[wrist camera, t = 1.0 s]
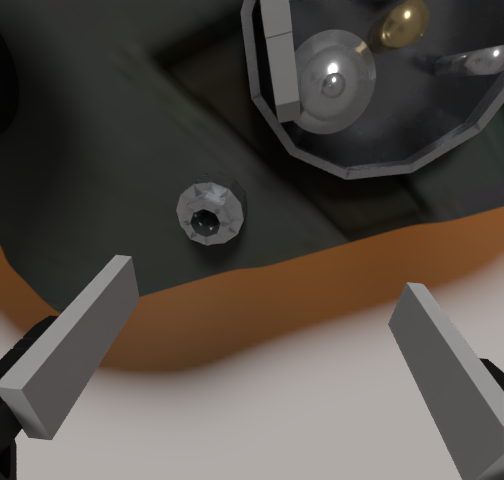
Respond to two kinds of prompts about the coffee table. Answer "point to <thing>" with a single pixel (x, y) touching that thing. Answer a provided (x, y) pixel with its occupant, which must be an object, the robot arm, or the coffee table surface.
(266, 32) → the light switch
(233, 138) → the coffee table surface
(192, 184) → the grey nut
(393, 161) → the carrier
